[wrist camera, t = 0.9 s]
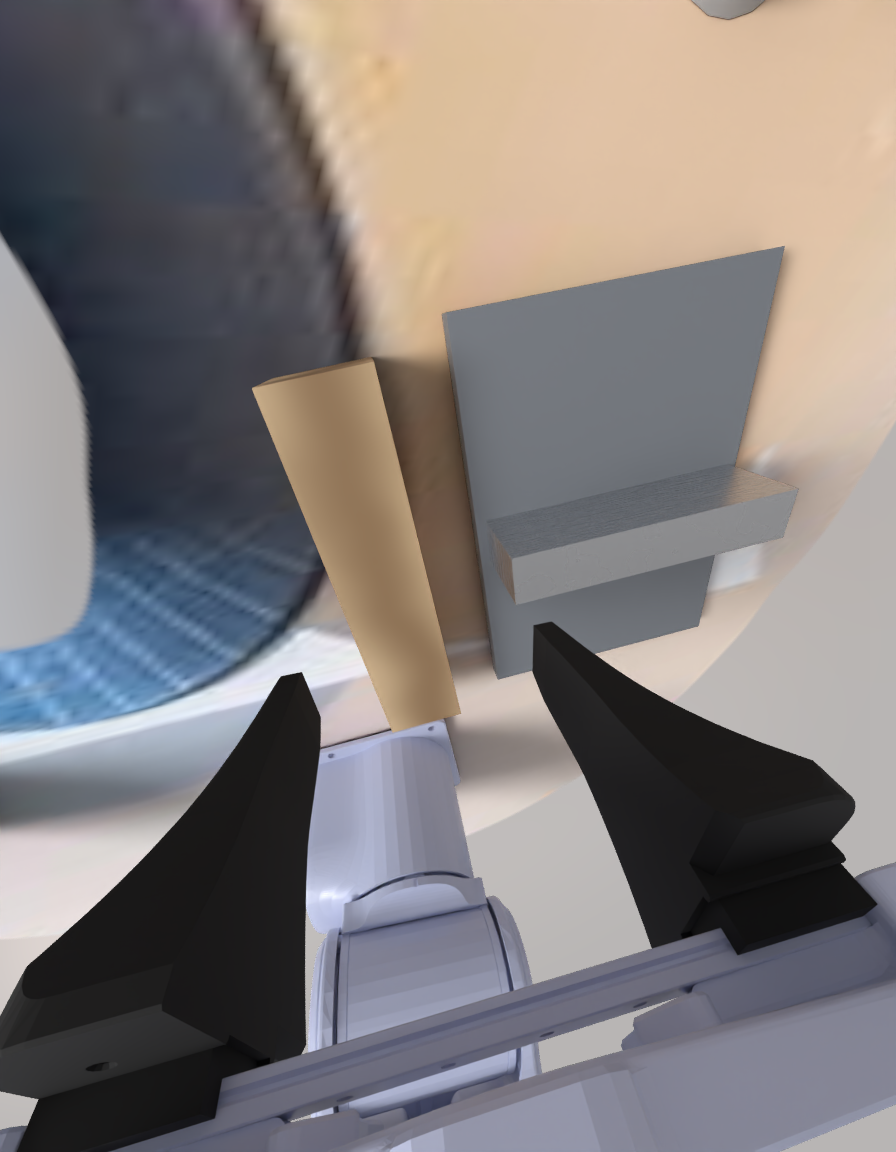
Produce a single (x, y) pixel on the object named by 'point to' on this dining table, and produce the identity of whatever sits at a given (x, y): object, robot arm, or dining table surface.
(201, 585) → the dining table surface
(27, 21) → the dining table surface
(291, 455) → the oak bar
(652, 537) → the steel ridge
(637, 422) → the slate base plate
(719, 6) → the chalice
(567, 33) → the dining table surface
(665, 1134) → the robot arm
